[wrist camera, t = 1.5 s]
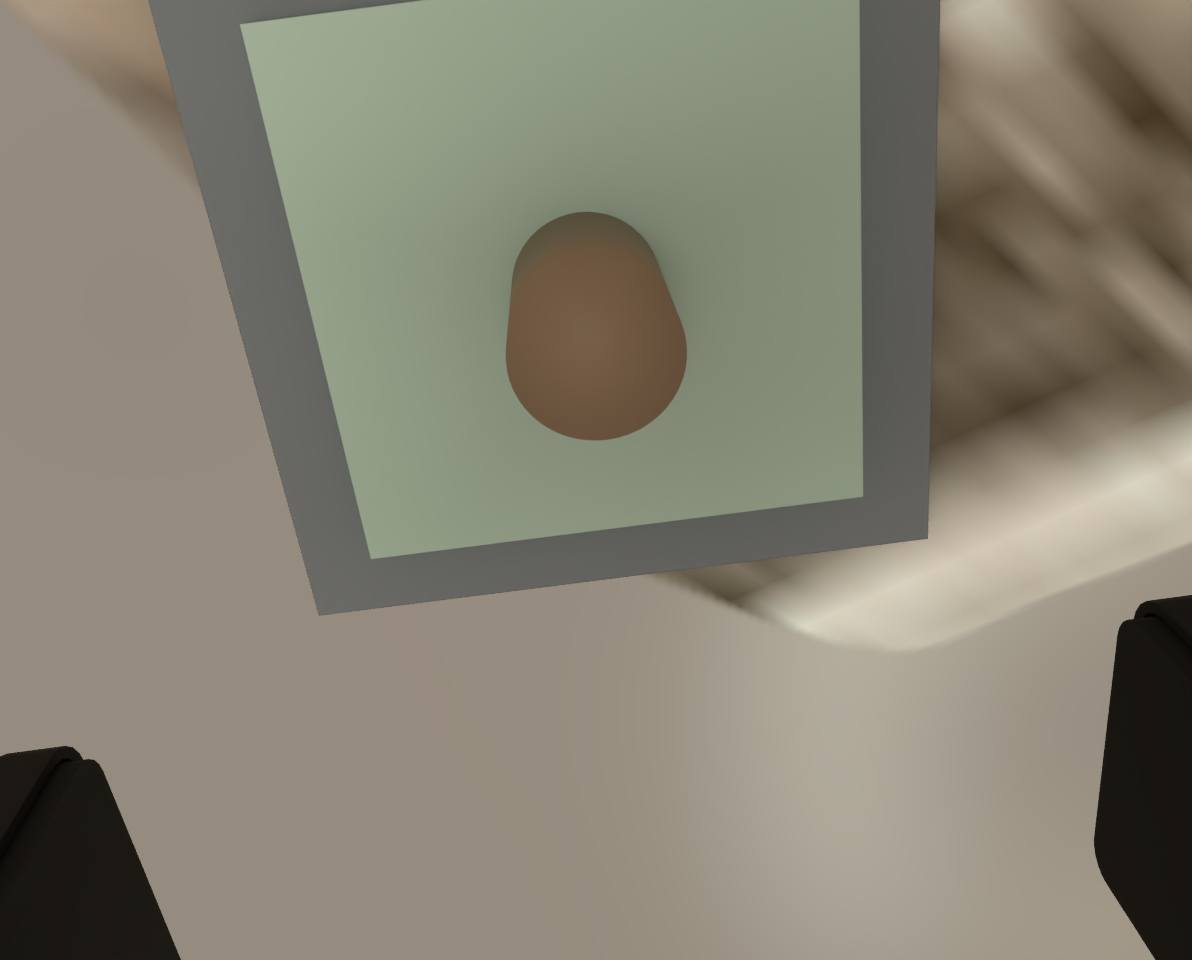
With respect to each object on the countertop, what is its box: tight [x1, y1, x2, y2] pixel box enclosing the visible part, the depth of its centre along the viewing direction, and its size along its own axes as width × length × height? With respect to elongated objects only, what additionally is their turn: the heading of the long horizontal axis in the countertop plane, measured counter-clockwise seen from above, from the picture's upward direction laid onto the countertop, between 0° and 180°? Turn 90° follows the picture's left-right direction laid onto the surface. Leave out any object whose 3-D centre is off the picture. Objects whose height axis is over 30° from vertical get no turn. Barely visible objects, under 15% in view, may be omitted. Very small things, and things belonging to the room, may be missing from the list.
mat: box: [148, 0, 940, 616], centre depth 26 cm, size 17×17×1 cm
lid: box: [240, 0, 863, 559], centre depth 23 cm, size 13×13×6 cm
